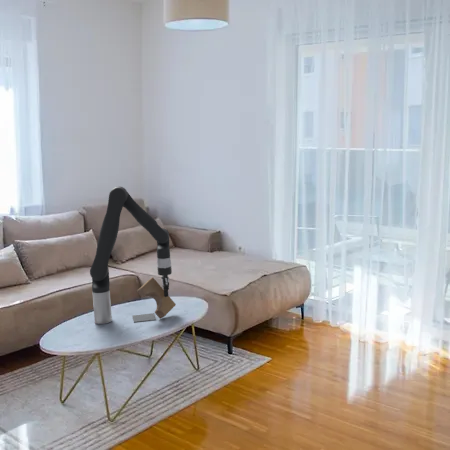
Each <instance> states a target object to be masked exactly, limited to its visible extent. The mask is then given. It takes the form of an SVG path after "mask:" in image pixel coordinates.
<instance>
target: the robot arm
mask: <svg viewBox="0 0 450 450" xmlns="http://www.w3.org/2000/svg"><path fill="white" fill-rule="evenodd" d="M123 208H124V209H126V210H127V211H128V212H129V213H130V214H131V216H132V217H133V218H134V219H135V220H136V222H137V223H138V224H139V225H140V226H141V227H142V228H143V229H145V230H146V231H147V232H148V233H149V235H151V237H152V238H153V239H154V240H155V241H156V259H157V260H156V265H157V266H156V267H157V274H158V276H161V277H160V279H161V285H162V289H163V290H164V296H165V297H168V296H169V290H170V277H169V275H171V274H172V273H173V272H172V259H171V251H170V232H169V231H168V229H167V228H163V227H162V226H160V225H159V224H158V222H157V220H156V219H154V218H153V217H152V215H150V214H149V213H148V212H147V211H146V210H144V208H142V207H141V206H140V205H139V204H138V203H137V202H136V201H135V200H134V198H133V197H132V196H131V195H130V193H129V192H128V191H127V189H126V188H125V187H123V186H119V185H118V186H115V187H113V188H112V189H111V190H110V191H109V194H108V203H107V208H106V213H105V215H104V217H103V220H102V224H101V226H100V230H99V235H98V240H97V246H96V252H95V256H94V259H93V261H92V264H91V266H90V269H89V274H90V277H91V283H92V285H91V293H92V303H93V305H92V306H93V316H94V324H95V325H96V324H98V325H104V324H105V325H106V324H108V323H111V322H112V321H113V316H112V304H111V303H112V302H111V292H110V291H111V288H110V285H111V284H110V271H109V261H110V257H111V254H112V252H113V249H114V247H115V243H116V241H117V237H118V234H119V230H120V229H119V228H120V219H121V215H122V210H123Z"/></svg>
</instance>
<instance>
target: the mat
mask: <svg viewBox="0 0 450 450" xmlns="http://www.w3.org/2000/svg"><path fill="white" fill-rule="evenodd" d="M132 319H133V323H134V324H135V323H142V322H143V323H144V322H151V321H157V317H156V314H155V312H153V313H144V314H135V315H132Z"/></svg>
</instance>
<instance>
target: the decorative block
mask: <svg viewBox="0 0 450 450" xmlns="http://www.w3.org/2000/svg"><path fill="white" fill-rule="evenodd" d="M136 292H137V294H138V295H139V296H140V298H143V299H144V297H151V298H152V299H154V301H155V304H156V308H155V311H154V314H155V316H157V317H158V318H159V319H163V318H164V317H166V316H167V314H169V313H170V312H171V310H173V308H174V307H176V303H175V301H174V300H173V299H172V298H171V297H170V295H168V297H165V296H164V290H163V286H161V285H160V284H159V283H158V282H157V280H156V279H155V278H154V277H153V276H152V277H151V278H149V279H148V280H147V281H146V282H144V283H143V284H142V286H140V287H139V288H138V289H137V290H136Z"/></svg>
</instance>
